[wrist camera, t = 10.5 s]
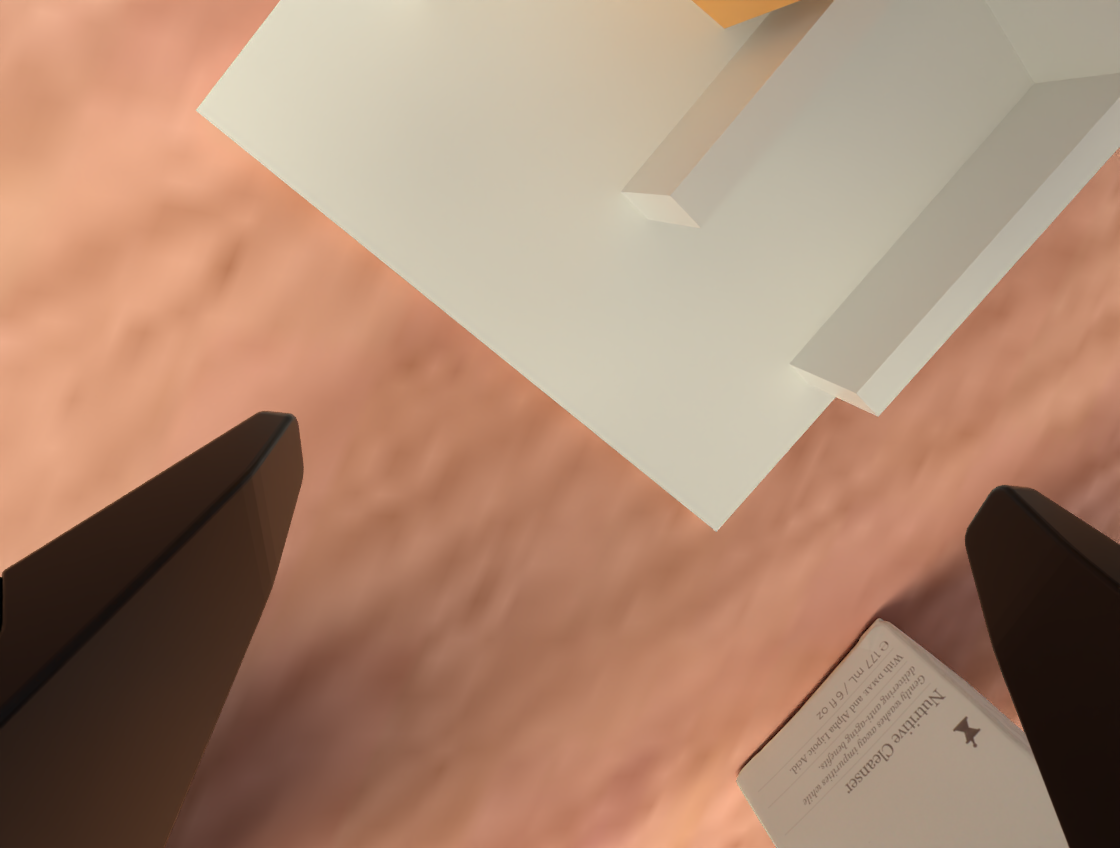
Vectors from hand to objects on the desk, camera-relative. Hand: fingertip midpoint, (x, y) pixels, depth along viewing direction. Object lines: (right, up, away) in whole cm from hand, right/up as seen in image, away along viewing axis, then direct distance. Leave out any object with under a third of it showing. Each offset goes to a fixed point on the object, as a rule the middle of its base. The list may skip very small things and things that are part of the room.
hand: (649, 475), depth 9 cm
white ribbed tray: (+3, +9, +9) cm, 13 cm away
